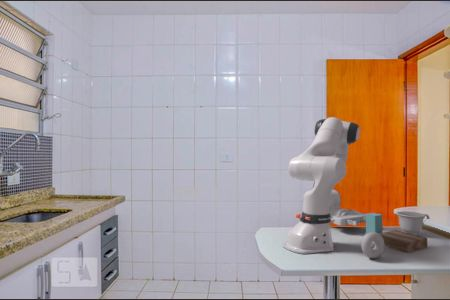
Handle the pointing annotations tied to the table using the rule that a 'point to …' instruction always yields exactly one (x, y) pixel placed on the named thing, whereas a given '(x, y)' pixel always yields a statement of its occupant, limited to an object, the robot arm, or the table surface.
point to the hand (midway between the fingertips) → (363, 222)
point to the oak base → (403, 241)
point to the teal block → (374, 223)
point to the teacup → (411, 221)
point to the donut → (377, 248)
